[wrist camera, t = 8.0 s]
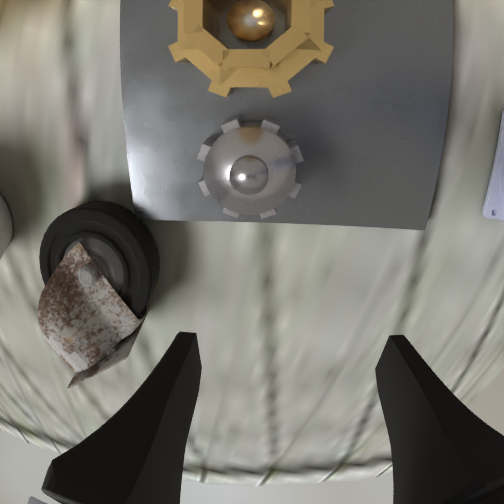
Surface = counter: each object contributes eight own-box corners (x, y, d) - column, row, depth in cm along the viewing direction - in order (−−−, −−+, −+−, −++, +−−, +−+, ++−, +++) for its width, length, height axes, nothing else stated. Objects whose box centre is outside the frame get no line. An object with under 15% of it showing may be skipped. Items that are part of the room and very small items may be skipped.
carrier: (443, -23, 10) (474, -35, 7) (419, 223, 19) (441, 252, 16) (130, -43, 11) (103, -61, 8) (141, 213, 20) (120, 241, 17)
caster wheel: (124, 173, 21) (201, 285, 24) (30, 254, 22) (99, 346, 25) (84, 184, 15) (191, 333, 18) (-17, 286, 16) (71, 395, 19)
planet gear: (327, -31, 11) (346, -60, 7) (324, 98, 15) (344, 108, 11) (179, -30, 11) (152, -58, 7) (179, 96, 15) (150, 106, 11)
